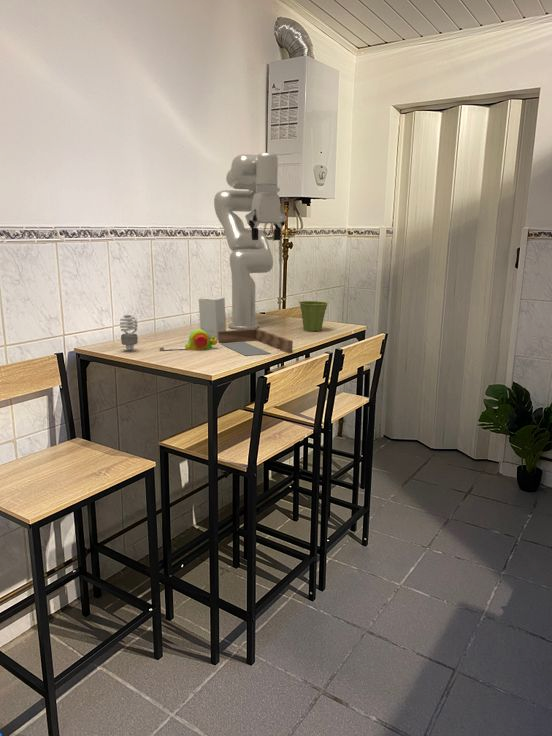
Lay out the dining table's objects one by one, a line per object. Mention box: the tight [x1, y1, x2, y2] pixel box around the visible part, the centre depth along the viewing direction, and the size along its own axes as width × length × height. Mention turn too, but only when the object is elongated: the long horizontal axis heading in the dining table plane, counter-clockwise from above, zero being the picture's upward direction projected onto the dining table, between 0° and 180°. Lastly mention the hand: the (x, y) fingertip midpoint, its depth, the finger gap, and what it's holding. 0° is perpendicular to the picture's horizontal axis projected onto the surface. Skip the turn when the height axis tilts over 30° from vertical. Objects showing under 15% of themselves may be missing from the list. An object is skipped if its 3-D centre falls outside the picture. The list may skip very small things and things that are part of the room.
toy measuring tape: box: [158, 328, 218, 352], centre depth 193 cm, size 6×19×7 cm, turn 106°
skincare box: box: [198, 296, 227, 340], centre depth 214 cm, size 8×6×15 cm
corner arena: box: [217, 328, 294, 354], centre depth 198 cm, size 26×16×4 cm, turn 28°
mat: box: [220, 341, 272, 357], centre depth 196 cm, size 21×9×1 cm, turn 28°
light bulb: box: [119, 314, 139, 352], centre depth 188 cm, size 6×6×12 cm
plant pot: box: [298, 300, 329, 332], centre depth 233 cm, size 12×12×11 cm
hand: (266, 240), depth 207 cm, fingers open, 9 cm apart
